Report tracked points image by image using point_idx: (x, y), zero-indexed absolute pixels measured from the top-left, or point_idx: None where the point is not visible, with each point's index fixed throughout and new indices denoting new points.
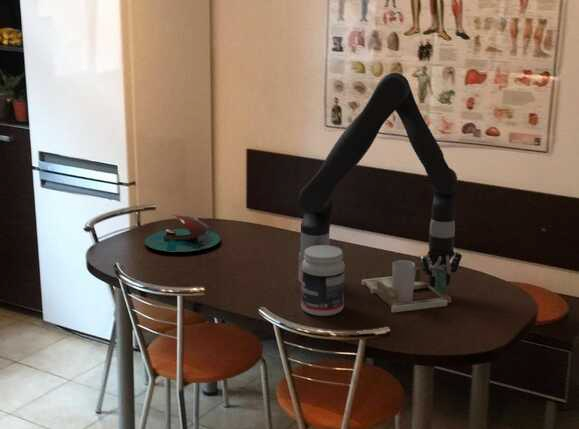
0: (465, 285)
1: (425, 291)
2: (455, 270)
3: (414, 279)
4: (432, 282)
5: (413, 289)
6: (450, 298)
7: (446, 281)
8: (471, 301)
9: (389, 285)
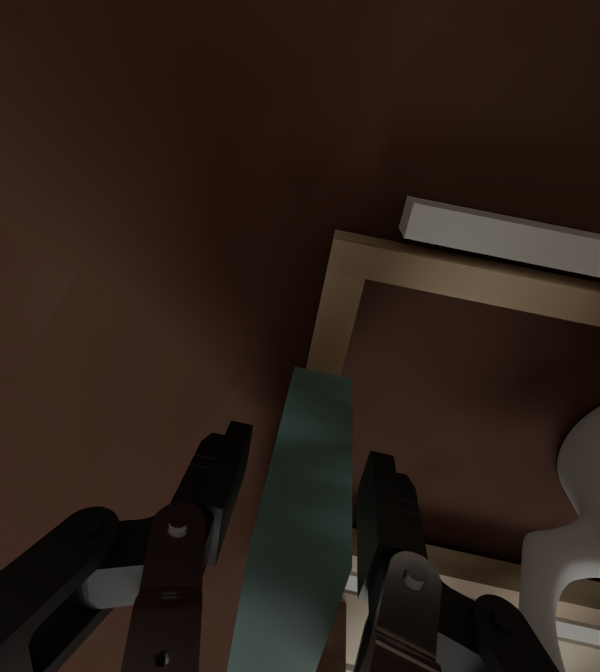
0: (32, 437)
1: None
2: (83, 523)
3: (537, 607)
4: (396, 497)
5: None
6: (342, 239)
7: (242, 453)
8: (137, 172)
9: (560, 636)
